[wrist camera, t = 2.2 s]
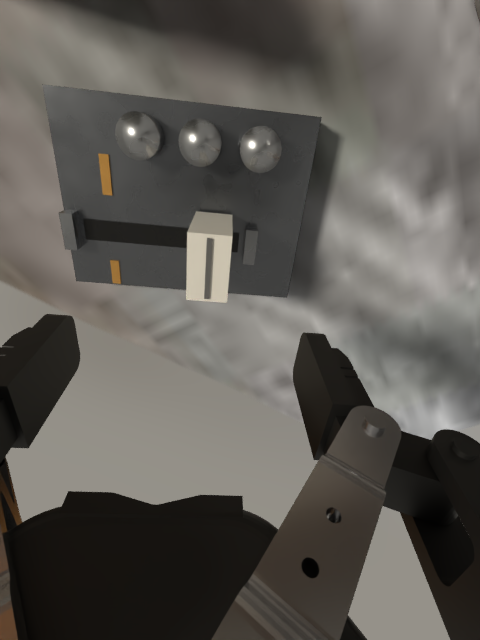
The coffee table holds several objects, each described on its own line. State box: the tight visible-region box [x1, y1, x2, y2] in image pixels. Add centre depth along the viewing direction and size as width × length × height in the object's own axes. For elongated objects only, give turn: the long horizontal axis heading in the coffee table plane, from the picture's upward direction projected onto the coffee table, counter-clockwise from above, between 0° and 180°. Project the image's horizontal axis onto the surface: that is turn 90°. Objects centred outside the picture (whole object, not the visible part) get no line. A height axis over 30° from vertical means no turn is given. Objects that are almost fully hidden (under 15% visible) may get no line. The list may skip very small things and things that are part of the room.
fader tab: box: [186, 211, 233, 303], centre depth 20 cm, size 2×4×5 cm, turn 174°
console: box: [42, 84, 321, 297], centre depth 22 cm, size 16×12×4 cm
